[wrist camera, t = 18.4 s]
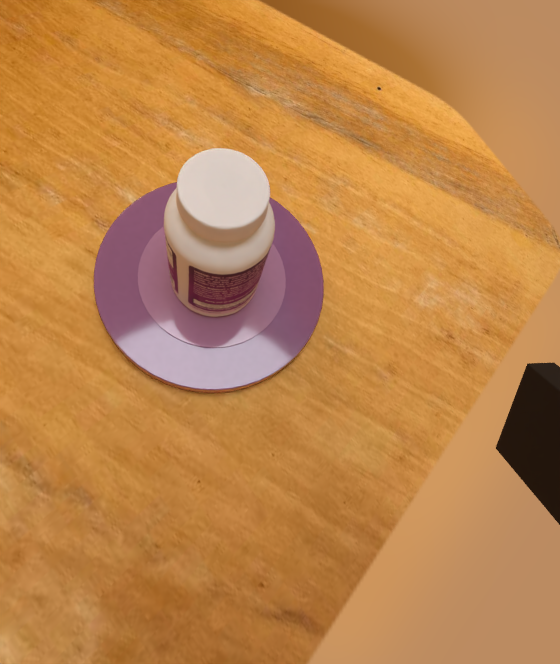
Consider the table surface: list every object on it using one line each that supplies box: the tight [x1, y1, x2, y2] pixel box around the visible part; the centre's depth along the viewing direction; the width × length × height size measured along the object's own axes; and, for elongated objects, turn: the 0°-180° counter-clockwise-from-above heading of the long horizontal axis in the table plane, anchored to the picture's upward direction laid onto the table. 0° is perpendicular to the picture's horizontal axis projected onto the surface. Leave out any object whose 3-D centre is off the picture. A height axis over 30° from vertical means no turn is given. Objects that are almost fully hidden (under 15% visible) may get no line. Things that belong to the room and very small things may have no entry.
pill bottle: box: [164, 148, 275, 317], centre depth 25 cm, size 5×5×10 cm
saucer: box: [94, 182, 323, 393], centre depth 30 cm, size 14×14×1 cm
